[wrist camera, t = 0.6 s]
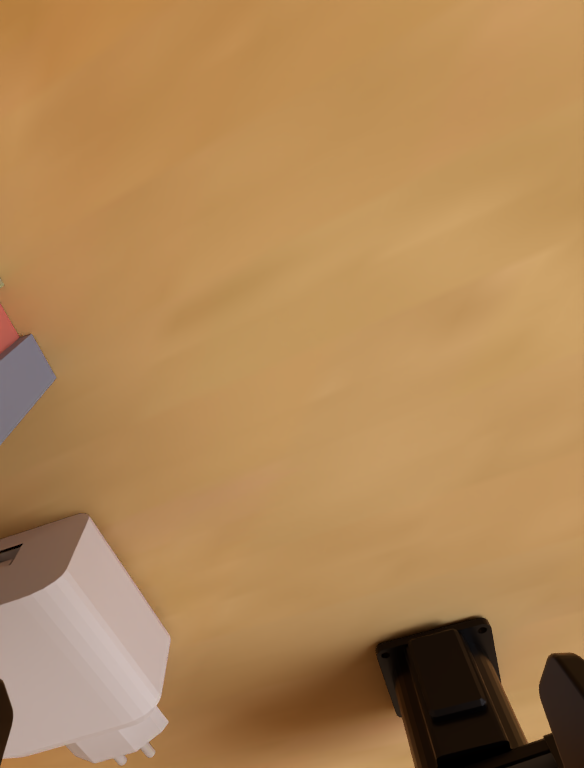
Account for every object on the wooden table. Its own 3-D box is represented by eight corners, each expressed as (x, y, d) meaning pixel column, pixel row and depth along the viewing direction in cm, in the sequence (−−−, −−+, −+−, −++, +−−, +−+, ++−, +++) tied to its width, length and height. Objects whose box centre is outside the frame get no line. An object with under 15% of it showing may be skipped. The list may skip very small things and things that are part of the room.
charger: (76, 733, 31) (-81, 562, 25) (217, 693, 30) (93, 505, 24) (48, 828, 27) (-152, 651, 20) (211, 783, 26) (58, 585, 20)
